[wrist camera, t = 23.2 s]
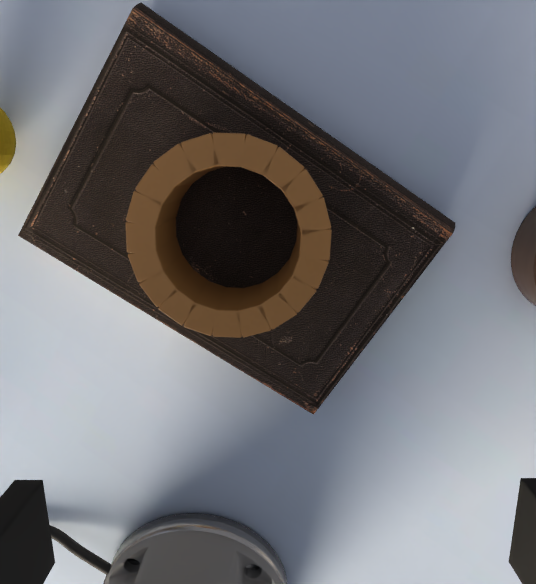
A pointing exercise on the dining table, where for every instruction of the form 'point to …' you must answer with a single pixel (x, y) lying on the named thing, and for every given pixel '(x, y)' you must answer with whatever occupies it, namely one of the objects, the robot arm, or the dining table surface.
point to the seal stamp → (525, 257)
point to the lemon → (6, 141)
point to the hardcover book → (232, 207)
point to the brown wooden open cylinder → (191, 285)
